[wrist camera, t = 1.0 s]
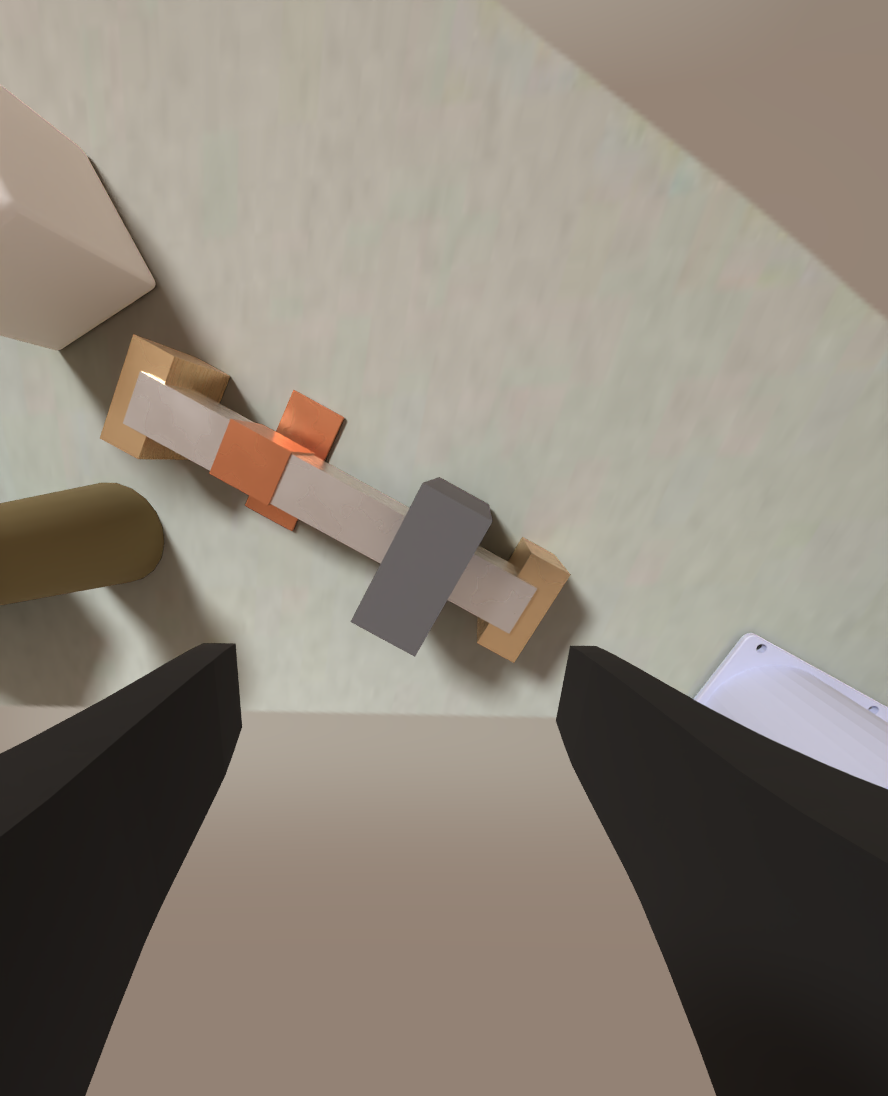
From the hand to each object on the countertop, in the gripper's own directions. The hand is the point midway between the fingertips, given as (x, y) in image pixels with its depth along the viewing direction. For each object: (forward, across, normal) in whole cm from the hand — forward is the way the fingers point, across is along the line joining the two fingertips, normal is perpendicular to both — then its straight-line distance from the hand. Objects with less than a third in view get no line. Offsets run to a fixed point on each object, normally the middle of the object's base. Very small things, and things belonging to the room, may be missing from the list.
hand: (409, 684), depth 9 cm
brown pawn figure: (+18, +17, +2) cm, 25 cm away
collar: (+14, -2, +1) cm, 14 cm away
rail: (+16, +2, -1) cm, 16 cm away
